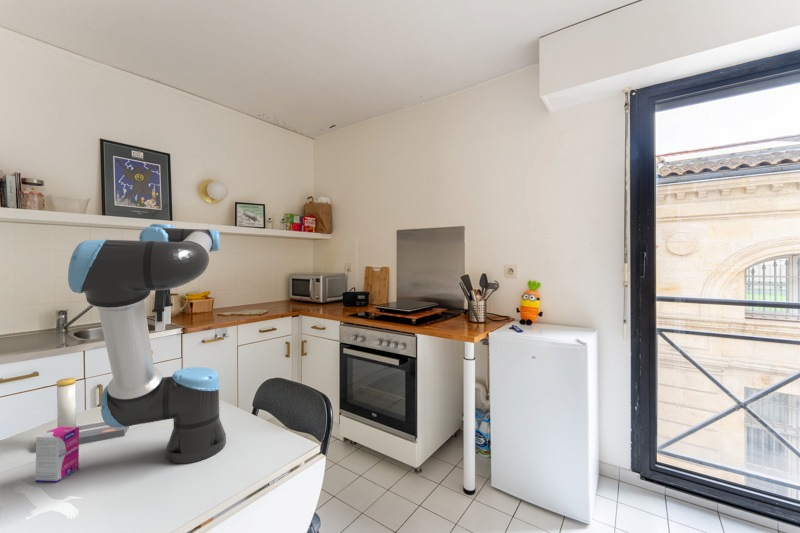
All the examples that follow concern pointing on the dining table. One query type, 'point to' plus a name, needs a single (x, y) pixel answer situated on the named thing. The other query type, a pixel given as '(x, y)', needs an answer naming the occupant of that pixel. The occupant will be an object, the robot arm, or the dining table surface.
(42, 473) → the supplement box
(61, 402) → the switch handle
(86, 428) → the switch panel
